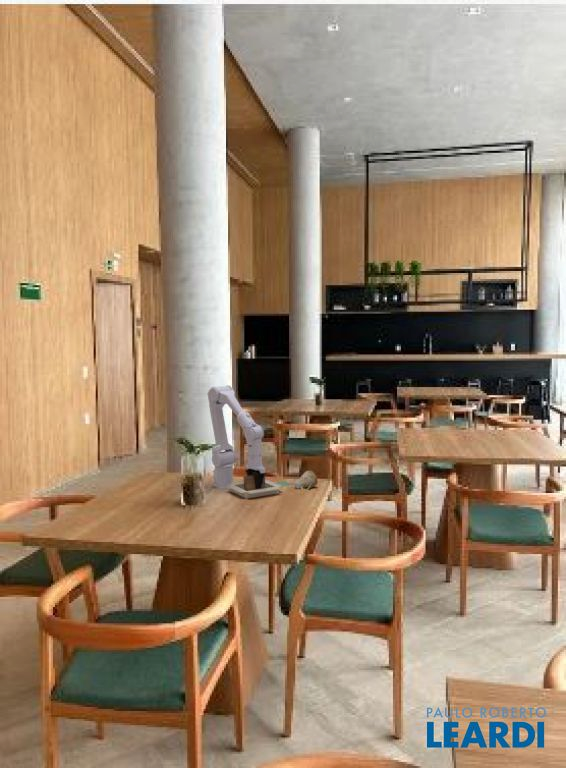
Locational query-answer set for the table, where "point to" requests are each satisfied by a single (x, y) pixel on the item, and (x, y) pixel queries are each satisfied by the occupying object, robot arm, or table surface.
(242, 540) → the table surface
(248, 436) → the robot arm
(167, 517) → the table surface
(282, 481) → the mat
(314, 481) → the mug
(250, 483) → the box
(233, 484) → the off-white shallow square tray
